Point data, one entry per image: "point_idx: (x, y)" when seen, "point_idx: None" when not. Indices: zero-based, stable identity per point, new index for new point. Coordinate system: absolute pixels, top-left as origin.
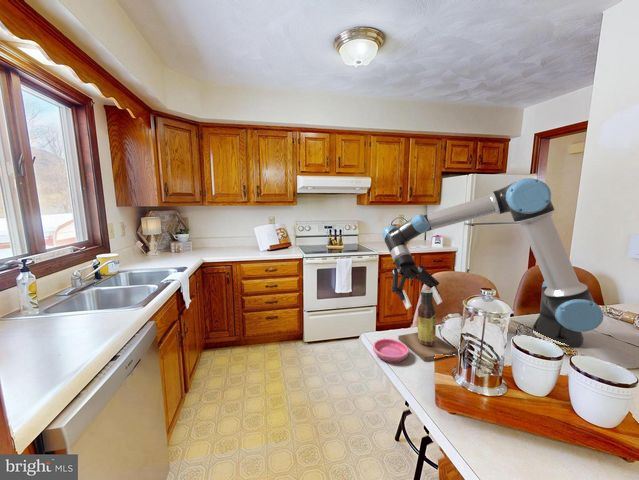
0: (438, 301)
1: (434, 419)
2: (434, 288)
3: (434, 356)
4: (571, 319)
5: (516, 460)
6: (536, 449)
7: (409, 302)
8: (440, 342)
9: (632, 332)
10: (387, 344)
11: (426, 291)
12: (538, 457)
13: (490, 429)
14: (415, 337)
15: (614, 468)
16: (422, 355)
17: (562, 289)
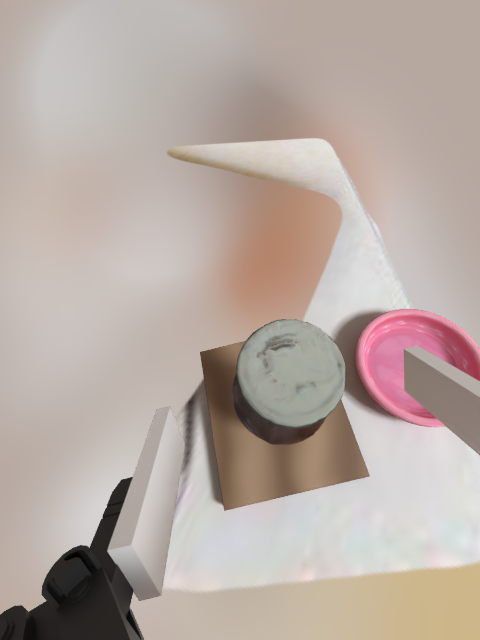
0: (175, 431)
1: (349, 189)
2: (135, 515)
3: None
4: None
5: (272, 150)
6: (238, 161)
7: (428, 361)
8: (225, 403)
9: None
10: (421, 413)
11: (296, 358)
12: (245, 154)
13: (274, 179)
14: (301, 450)
15: (178, 150)
16: None
17: None
